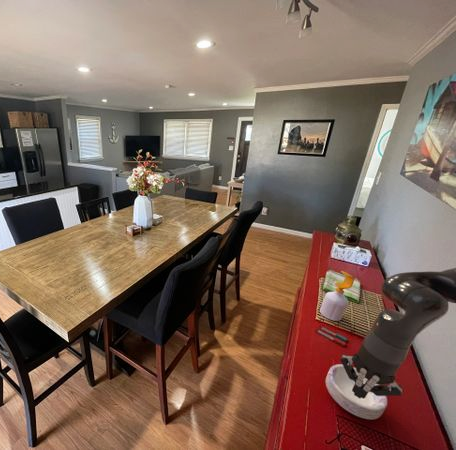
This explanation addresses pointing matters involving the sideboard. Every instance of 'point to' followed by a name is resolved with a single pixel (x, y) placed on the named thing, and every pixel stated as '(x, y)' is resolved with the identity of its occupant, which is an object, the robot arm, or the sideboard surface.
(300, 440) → the sideboard surface
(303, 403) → the sideboard surface
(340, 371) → the paper bowls
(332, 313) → the soap bottle
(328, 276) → the dish towel
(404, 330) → the robot arm
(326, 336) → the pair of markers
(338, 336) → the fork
